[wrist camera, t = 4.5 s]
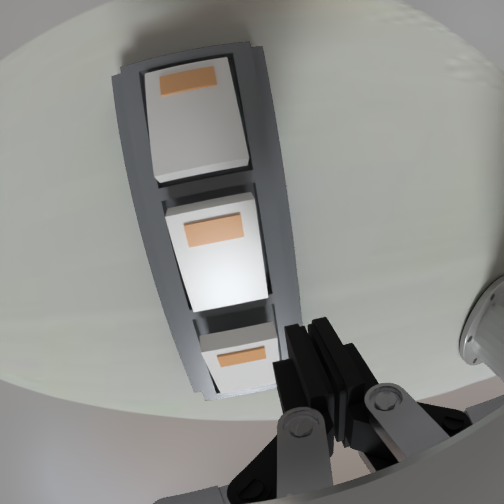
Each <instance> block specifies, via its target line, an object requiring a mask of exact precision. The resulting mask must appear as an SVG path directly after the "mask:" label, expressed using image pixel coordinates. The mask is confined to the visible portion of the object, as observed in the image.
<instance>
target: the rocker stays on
mask: <svg viewBox="0 0 504 504" xmlns="http://www.w3.org/2000/svg"><path fill="white" fill-rule="evenodd" d="M145 89H146V103H147V116H148V127H149V137H150V147H151V156H152V164H153V172H154V177H155V178H156V179H157V180H158V181H159V182H160V183H162V182H166V181H171V180H175V179H180V178H184V177H189V176H194V175H199V174H204V173H209V172H214V171H219V170H224V169H230V168H235V167H241V166H247V165H248V161H249V155H248V150H247V145H246V141H245V136H244V131H243V127H242V122H241V117H240V113H239V108H238V104H237V99H236V94H235V90H234V85H233V81H232V76H231V72H230V67H229V63H228V58H227V57H224V58H217V59H211V60H205V61H199V62H194V63H189V64H184V65H179V66H174V67H170V68H165V69H161V70H157V71H153V72H149V73H146V74H145Z"/></svg>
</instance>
